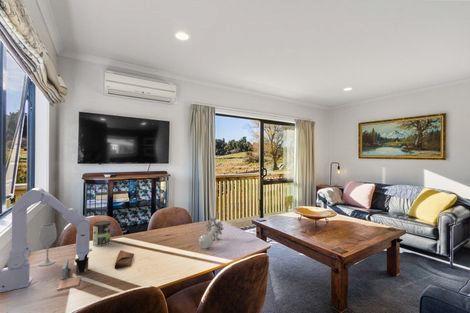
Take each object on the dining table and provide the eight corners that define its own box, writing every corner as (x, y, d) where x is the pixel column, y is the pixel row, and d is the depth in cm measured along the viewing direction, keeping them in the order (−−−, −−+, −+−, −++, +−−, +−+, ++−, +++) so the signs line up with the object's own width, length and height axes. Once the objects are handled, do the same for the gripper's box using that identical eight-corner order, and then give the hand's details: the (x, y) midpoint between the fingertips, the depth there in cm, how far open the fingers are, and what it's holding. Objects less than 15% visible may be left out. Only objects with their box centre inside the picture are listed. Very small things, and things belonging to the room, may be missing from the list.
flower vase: (210, 260, 144) (224, 237, 167) (213, 236, 139) (226, 216, 162) (192, 254, 147) (208, 232, 170) (194, 230, 142) (210, 211, 165)
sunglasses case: (132, 266, 120) (125, 256, 119) (119, 275, 118) (112, 265, 117) (134, 253, 137) (128, 244, 136) (123, 260, 135) (116, 251, 133)
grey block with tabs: (59, 281, 105) (60, 269, 105) (63, 270, 116) (63, 259, 116) (67, 279, 107) (67, 267, 107) (70, 268, 117) (70, 258, 117)
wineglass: (41, 261, 125) (42, 223, 125) (58, 258, 128) (58, 222, 128) (35, 267, 118) (36, 227, 118) (53, 264, 121) (54, 226, 121)
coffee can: (113, 240, 157) (113, 220, 157) (104, 246, 147) (104, 225, 147) (98, 240, 157) (99, 220, 157) (89, 246, 147) (89, 224, 147)
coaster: (56, 290, 98) (56, 289, 98) (59, 282, 104) (59, 280, 104) (78, 285, 102) (79, 284, 102) (80, 277, 109) (80, 276, 109)
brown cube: (75, 275, 111) (76, 265, 111) (76, 270, 115) (76, 261, 115) (87, 272, 113) (88, 262, 113) (88, 268, 118) (88, 258, 118)
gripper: (91, 245, 111) (91, 272, 110) (92, 236, 123) (91, 261, 123) (74, 248, 107) (73, 276, 107) (76, 238, 119) (76, 264, 119)
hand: (82, 268), depth 114 cm, fingers open, 7 cm apart
